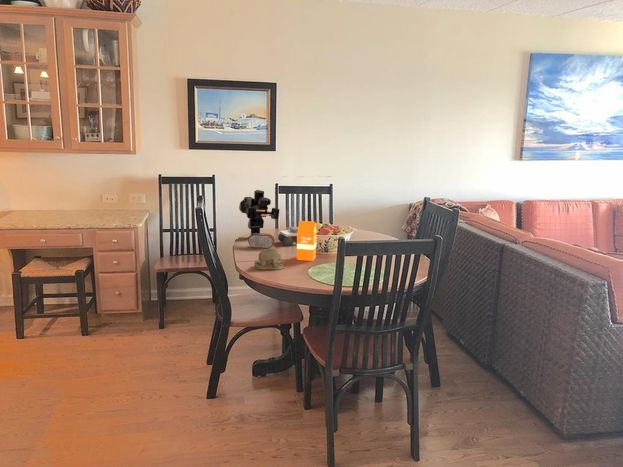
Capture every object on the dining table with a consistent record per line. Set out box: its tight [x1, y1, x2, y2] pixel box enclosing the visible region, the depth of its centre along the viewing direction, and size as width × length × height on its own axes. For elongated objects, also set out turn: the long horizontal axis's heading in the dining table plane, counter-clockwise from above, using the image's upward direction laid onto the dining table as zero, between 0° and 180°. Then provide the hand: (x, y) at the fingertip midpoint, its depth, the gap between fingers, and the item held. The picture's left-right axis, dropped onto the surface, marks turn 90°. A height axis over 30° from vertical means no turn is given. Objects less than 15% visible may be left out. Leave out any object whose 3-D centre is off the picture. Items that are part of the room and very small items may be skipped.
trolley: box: [277, 226, 298, 247], centre depth 277 cm, size 10×13×9 cm
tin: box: [247, 232, 276, 249], centre depth 264 cm, size 15×3×8 cm, turn 84°
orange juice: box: [296, 220, 317, 262], centre depth 244 cm, size 8×9×20 cm
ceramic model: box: [253, 247, 285, 271], centre depth 228 cm, size 14×11×10 cm
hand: (267, 217), depth 262 cm, fingers open, 9 cm apart
